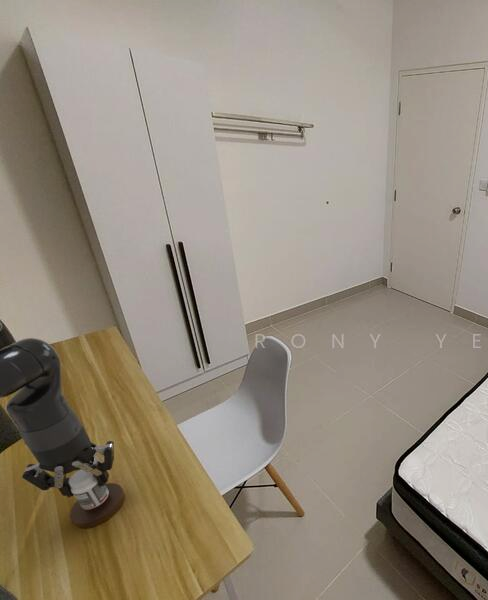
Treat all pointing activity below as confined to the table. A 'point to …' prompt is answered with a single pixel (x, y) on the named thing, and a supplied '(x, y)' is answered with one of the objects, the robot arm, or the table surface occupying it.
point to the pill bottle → (87, 489)
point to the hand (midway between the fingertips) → (88, 487)
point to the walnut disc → (98, 509)
